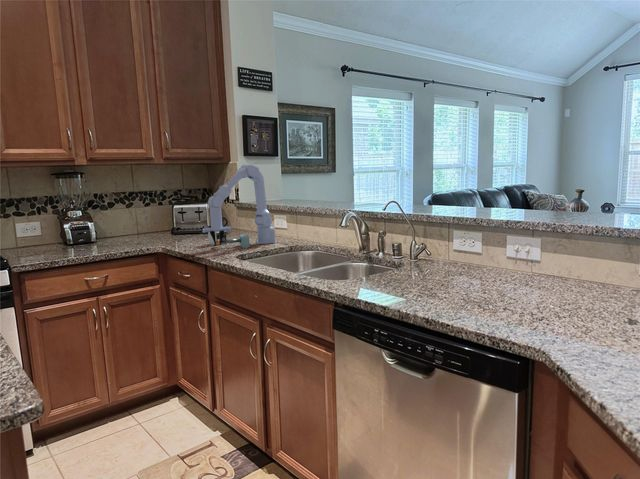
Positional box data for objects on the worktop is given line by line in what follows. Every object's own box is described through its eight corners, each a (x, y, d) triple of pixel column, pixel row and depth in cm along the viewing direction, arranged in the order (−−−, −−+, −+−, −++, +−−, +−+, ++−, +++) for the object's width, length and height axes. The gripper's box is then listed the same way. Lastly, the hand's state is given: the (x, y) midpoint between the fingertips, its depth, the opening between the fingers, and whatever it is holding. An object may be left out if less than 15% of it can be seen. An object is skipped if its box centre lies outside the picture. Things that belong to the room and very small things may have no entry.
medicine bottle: (217, 245, 254) (215, 223, 252) (208, 244, 258) (207, 223, 256) (227, 243, 259) (225, 222, 257) (218, 242, 264) (217, 221, 261)
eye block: (247, 244, 254) (246, 234, 253) (249, 247, 244) (249, 237, 243) (240, 244, 253) (239, 234, 252) (242, 248, 243) (241, 237, 242)
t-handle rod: (240, 241, 252) (240, 236, 252) (242, 244, 244) (242, 239, 243) (215, 243, 249) (215, 238, 248) (216, 246, 240) (215, 241, 240)
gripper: (229, 217, 245) (231, 242, 247) (201, 219, 242) (203, 244, 244) (230, 219, 238) (232, 245, 241) (202, 220, 235) (203, 247, 237)
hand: (218, 245), depth 242 cm, fingers closed on t-handle rod, 2 cm apart
